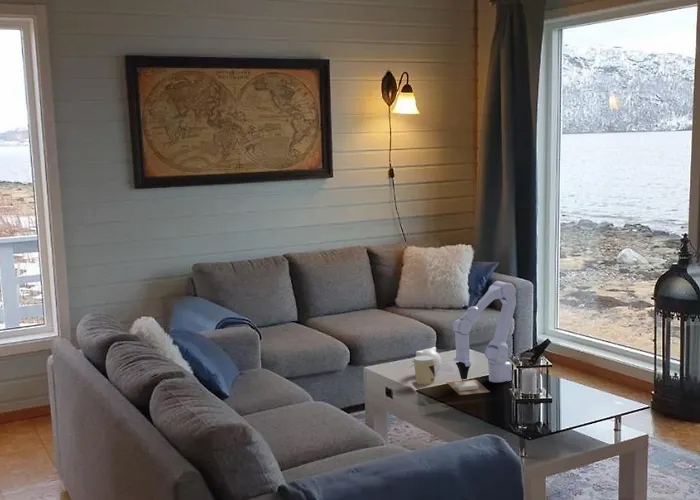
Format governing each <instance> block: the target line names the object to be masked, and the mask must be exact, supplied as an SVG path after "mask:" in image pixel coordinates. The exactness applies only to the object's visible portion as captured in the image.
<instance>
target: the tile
mask: <svg viewBox="0 0 700 500" xmlns="http://www.w3.org/2000/svg"><path fill="white" fill-rule="evenodd" d="M455 387H456V388H457V389H458V390H459V391H465V390H475V389H478V385H477V384H476V383H475V382H474V381H469V382H459V383H455Z"/></svg>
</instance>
